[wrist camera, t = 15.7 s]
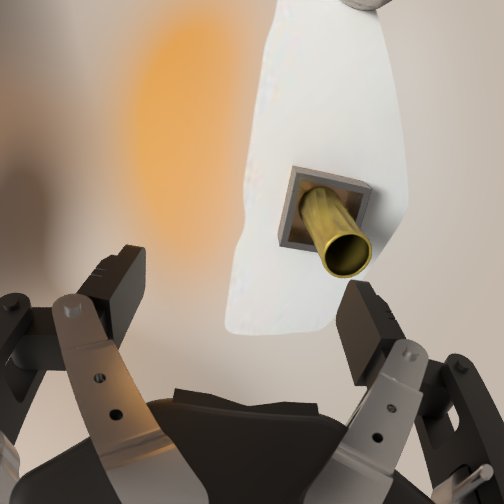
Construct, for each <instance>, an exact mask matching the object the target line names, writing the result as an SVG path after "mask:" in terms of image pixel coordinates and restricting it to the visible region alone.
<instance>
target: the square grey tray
mask: <svg viewBox="0 0 504 504" xmlns="http://www.w3.org/2000/svg"><path fill="white" fill-rule="evenodd" d="M319 187H324V188H328V189H331V190H333V191H334V192H335V193H336V194H337V195H338V196H339V198H340V199H341V201H342V203H343V204H344V206H345V207H346V209H347V211H348V213H349V214H350V215H351V217H352V218H353V219H354V221H355V223H356V225H357V226H358V227H359V229H360V227H361V223H362V220H363V217H364V214H365V210H366V207H367V204H368V200H369V197H370V193H371V190H372V189H371V188H370V187H369V186H368V185H366V184H365V183H364V182H363V181H360V180H356V179H351V178H347V177H343V176H338V175H334V174H330V173H325V172H320V171H316V170H311V169H306V168H301V167H296V166H292V171H291V176H290V180H289V185H288V189H287V194H286V199H285V203H284V208H283V212H282V217H281V221H280V226H279V230H278V240H279V245H280V247H287V248H293V249H299V250H305V251H311V252H317V253H318V251H317V249H316V246H315V243H314V241H313V239H312V237H311V235H310V233H309V232H308V230H307V228H306V226H305V224H304V222H303V221H302V220H301V218H300V215H299V204H300V202H301V199H302V198H303V196H304V195H305V194H306V193H308V192H309V191H310V190H312V189H314V188H319Z"/></svg>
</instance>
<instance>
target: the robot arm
mask: <svg viewBox="0 0 504 504" xmlns="http://www.w3.org/2000/svg"><path fill="white" fill-rule="evenodd" d="M341 1H342V2H343V3H345V4H347V5H348V6H351V7H353V8H356V9H360V10H375V9H378V8H380V7H382V6H383V5H385V4H387V3H388V2H390V1H392V0H341ZM145 272H146V251H145V248H144V247H139V246H132V245H125V246H124V247H123V249H122V250H121V251H120V253H119V254H118V255H117V256H116V255H110V256H109V257H107V258H105V259H103V260H101V262H100V263H99V264H98V265H97V267H96V269H94V271H93V272H92V273H91V275H90V276H89V277H88V278H87V280H86V281H85V282H84V283H83V285H82V286H81V287H80V289H79V290H78V291H77V293H76V294H68V295H64V296H62V297H60V298H58V299H57V300H56V301H55V302H54V303H53V306H52V307H45V308H44V307H31V303H30V300H29V298H28V297H27V296H26V295H24V294H21V293H10V294H7V295H4V296H3V297H1V298H0V504H504V422H503V420H502V418H501V416H500V414H499V412H498V410H497V408H496V406H495V404H494V402H493V400H492V398H491V396H490V394H489V392H488V390H487V388H486V386H485V384H484V382H483V380H482V379H481V377H480V375H479V373H478V371H477V369H476V368H475V366H474V364H473V363H472V362H471V361H470V360H469V359H468V358H466V357H465V356H463V355H460V354H451V355H449V356H448V357H447V359H446V360H445V362H444V363H441V362H438V361H434V360H430V359H428V354H427V352H426V351H425V349H424V348H423V347H422V346H421V345H419V344H418V343H416V342H414V341H412V340H408V339H406V337H405V335H404V333H403V332H402V330H401V328H400V326H399V324H398V322H397V320H395V317H394V315H393V313H391V310H390V308H389V306H388V304H387V303H386V302H385V301H384V300H383V299H382V298H381V297H380V296H379V295H376V293H375V292H374V290H373V288H372V287H371V285H370V283H369V282H364V281H358V280H350V281H349V283H348V285H347V287H346V290H345V293H344V295H343V298H342V301H341V303H340V306H339V308H338V311H337V315H336V326H337V329H338V333H339V336H340V339H341V342H342V345H343V348H344V352H345V355H346V358H347V361H348V364H349V368H350V371H351V375H352V378H353V381H354V385H355V386H367V391H366V393H365V394H364V396H363V397H362V399H361V401H360V403H359V404H358V406H357V407H356V409H355V411H354V412H353V414H352V416H351V417H350V419H349V420H348V422H347V424H346V425H343V424H342V423H340V422H339V421H337V420H335V419H333V418H330V417H328V416H325V415H322V414H319V412H318V406H317V403H297V402H279V403H271V404H263V405H256V406H246V405H242V404H239V403H236V402H233V401H230V400H227V399H224V398H221V397H218V396H215V395H212V394H207V393H200V392H194V391H188V390H182V389H176V388H175V391H174V396H173V398H167V399H159V400H155V401H150V402H148V403H145V401H144V399H143V398H142V396H141V394H140V392H139V390H138V388H137V387H136V385H135V383H134V381H133V379H132V377H131V375H130V373H129V371H128V369H127V367H126V365H125V363H124V361H123V360H122V357H121V355H120V353H119V351H118V350H119V347H120V345H121V343H122V341H123V339H124V336H125V334H126V332H127V330H128V328H129V325H130V323H131V321H132V319H133V317H134V314H135V313H136V310H137V308H138V306H139V304H140V302H141V300H142V298H143V294H144V290H145V275H146V273H145ZM10 356H11V357H10ZM9 357H10V358H9ZM8 359H9V360H8ZM7 361H8V362H7ZM6 362H7V363H6ZM5 364H6V365H5ZM47 370H56V371H67V374H68V377H69V380H70V383H71V386H72V389H73V392H74V395H75V398H76V401H77V404H78V407H79V410H80V412H81V415H82V418H83V420H84V423H85V425H86V428H87V430H88V433H89V435H90V436H89V437H88V438H86V439H85V440H83V441H82V442H80V443H78V444H76V445H75V446H73V447H71V448H69V449H68V450H66V451H64V452H63V453H61V454H59V455H58V456H56V457H54V458H53V459H51V460H49V461H47V462H45V463H44V464H42V465H40V466H38V467H36V468H35V469H33V470H31V471H29V472H28V473H26V474H25V475H24V476H22V477H21V478H19V466H20V458H19V454H18V452H17V450H16V449H15V447H14V445H15V442H16V439H17V437H18V434H19V432H20V429H21V427H22V424H23V422H24V420H25V417H26V415H27V413H28V410H29V408H30V406H31V403H32V401H33V399H34V397H35V395H36V392H37V390H38V388H39V386H40V384H41V382H42V380H43V377H44V375H45V373H46V371H47ZM453 405H454V406H455V409H456V411H457V414H458V416H459V426H458V428H457V430H456V431H454V429H453V426H452V423H451V421H450V418H449V416H448V413H447V412H448V411H449V410H450V408H451V407H452V406H453ZM413 423H415V426H416V430H417V433H418V436H419V440H420V443H421V446H422V450H423V453H424V457H425V461H426V464H427V468H428V472H429V476H430V480H431V483H432V488H433V492H432V495H431V499H430V498H429V497H428V496H426V495H425V494H424V493H423V492H422V491H420V490H419V489H418V488H417V487H416V486H414V485H413V484H412V483H411V482H410V481H408V480H407V479H406V478H405V477H404V476H402V475H401V474H400V473H399V472H398V471H396V470H395V467H396V465H397V462H398V460H399V458H400V456H401V453H402V451H403V448H404V445H405V443H406V441H407V438H408V436H409V433H410V431H411V428H412V425H413Z"/></svg>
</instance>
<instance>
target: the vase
mask: <svg viewBox="0 0 504 504" xmlns="http://www.w3.org/2000/svg"><path fill="white" fill-rule="evenodd" d="M299 215H300V218H301V220H302V221H303V222H304V224H305V226H306V228H307V230H308V232H309V233H310V235H311V237H312V239H313V241H314V243H315V246H316V249H317V251H318V254H319V256H320V258H321V260H322V263H323V266H324V267H325V269H326V270H327V271H328V272H329V273H330V274H331V275H333V276H335V277H338V278H350V277H353V276H355V275H357V274H359V273H360V272H361V271H362V270H364V269H365V268H366V266H367V265H368V263H369V262H370V260H371V256H372V247H371V244H370V242H369V240H368V239H367V237H366V236H365V235H364V234H363V233H362V231H361V230H360V229H359V227H358V226H357V225H356V223H355V221H354V219H353V218H352V217H351V215H350V214H349V213H348V211H347V209H346V207H345V206H344V204H343V203H342V201H341V199H340V198H339V196H338V195H337V194H336V193H335V192H334V191H333V190H331V189H328V188H324V187H319V188H314V189H312V190H310V191H309V192H308V193H306V194H305V195H304V196H303V198H302V199H301V202H300V204H299Z"/></svg>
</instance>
